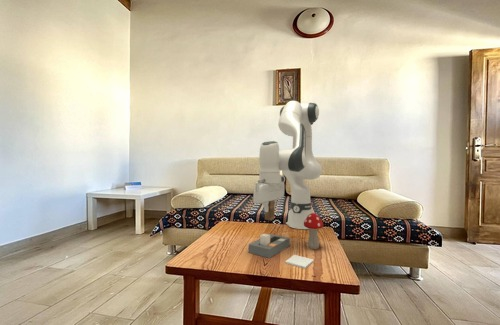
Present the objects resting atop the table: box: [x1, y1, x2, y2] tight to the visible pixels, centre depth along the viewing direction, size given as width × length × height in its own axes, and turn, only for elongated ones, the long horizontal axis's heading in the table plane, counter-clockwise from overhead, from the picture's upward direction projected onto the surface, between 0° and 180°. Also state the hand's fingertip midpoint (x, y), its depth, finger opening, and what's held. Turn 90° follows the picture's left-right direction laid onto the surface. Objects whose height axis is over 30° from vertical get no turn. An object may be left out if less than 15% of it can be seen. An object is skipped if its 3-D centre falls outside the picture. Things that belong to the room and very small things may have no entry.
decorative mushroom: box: [304, 212, 324, 250], centre depth 107 cm, size 10×9×15 cm
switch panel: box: [248, 233, 291, 259], centre depth 103 cm, size 18×10×4 cm, turn 144°
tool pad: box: [285, 254, 314, 269], centre depth 90 cm, size 8×8×1 cm
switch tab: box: [260, 233, 270, 246], centre depth 100 cm, size 3×3×5 cm
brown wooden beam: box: [264, 200, 275, 221], centre depth 103 cm, size 3×3×10 cm
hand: (269, 210), depth 103 cm, fingers closed on brown wooden beam, 3 cm apart
